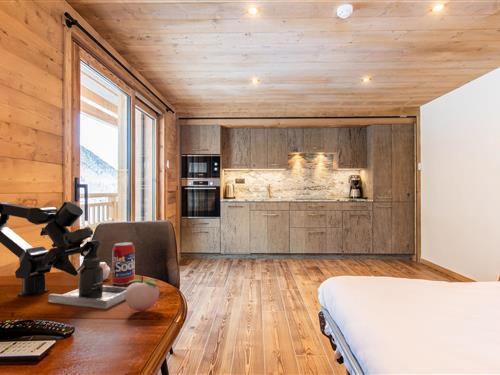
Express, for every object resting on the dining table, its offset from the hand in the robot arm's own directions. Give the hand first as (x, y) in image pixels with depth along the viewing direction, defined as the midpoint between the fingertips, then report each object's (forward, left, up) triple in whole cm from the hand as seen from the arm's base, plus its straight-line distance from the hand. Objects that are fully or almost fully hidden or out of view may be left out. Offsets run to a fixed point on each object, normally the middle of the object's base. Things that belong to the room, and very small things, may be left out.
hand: (88, 271), depth 95 cm
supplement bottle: (+2, 0, -8) cm, 8 cm away
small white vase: (-12, +19, -9) cm, 24 cm away
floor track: (+2, 0, -9) cm, 9 cm away
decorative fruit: (+25, -6, -9) cm, 27 cm away
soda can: (0, +17, -9) cm, 19 cm away
